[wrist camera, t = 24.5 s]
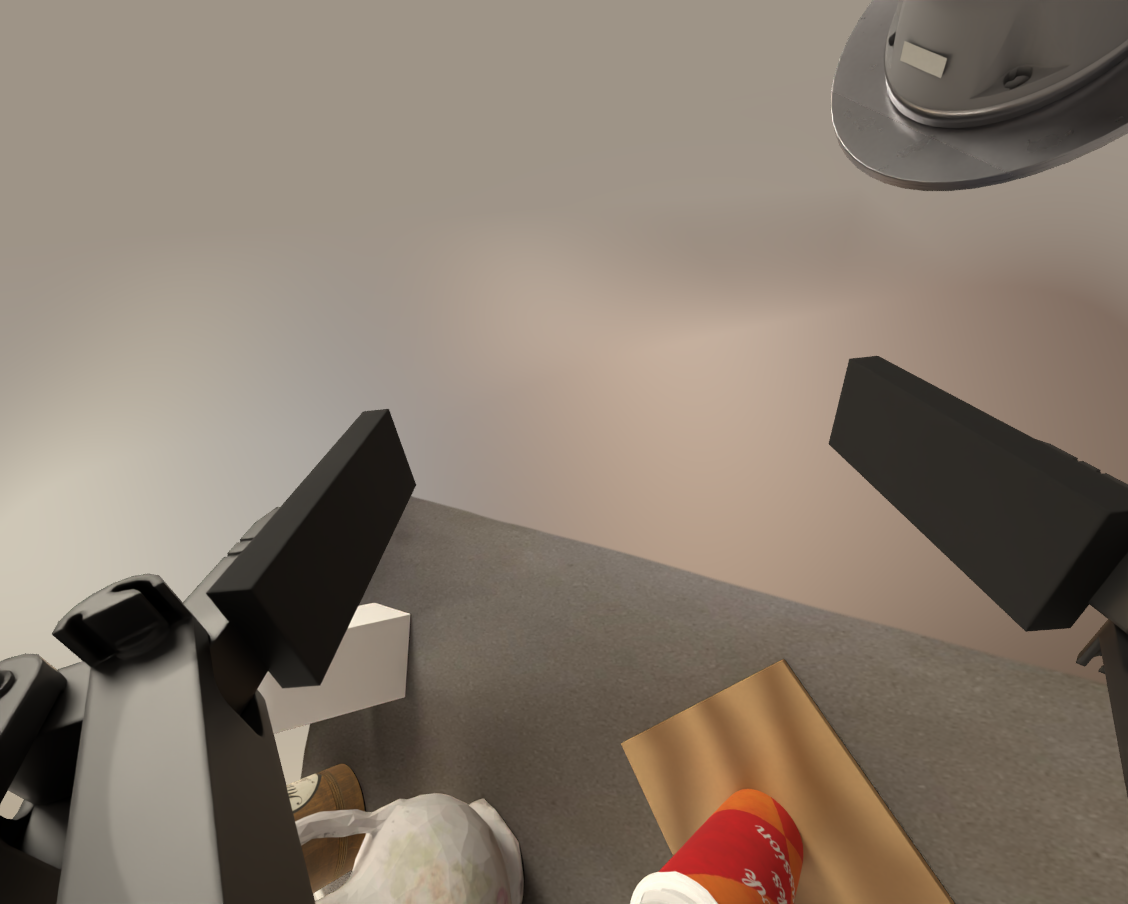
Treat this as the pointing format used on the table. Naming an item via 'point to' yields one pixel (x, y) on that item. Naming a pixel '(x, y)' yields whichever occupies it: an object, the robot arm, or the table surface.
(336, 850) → the wooden container
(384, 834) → the ceramic pitcher
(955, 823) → the table surface
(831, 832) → the wooden board
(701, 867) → the paper cup
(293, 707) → the milk
